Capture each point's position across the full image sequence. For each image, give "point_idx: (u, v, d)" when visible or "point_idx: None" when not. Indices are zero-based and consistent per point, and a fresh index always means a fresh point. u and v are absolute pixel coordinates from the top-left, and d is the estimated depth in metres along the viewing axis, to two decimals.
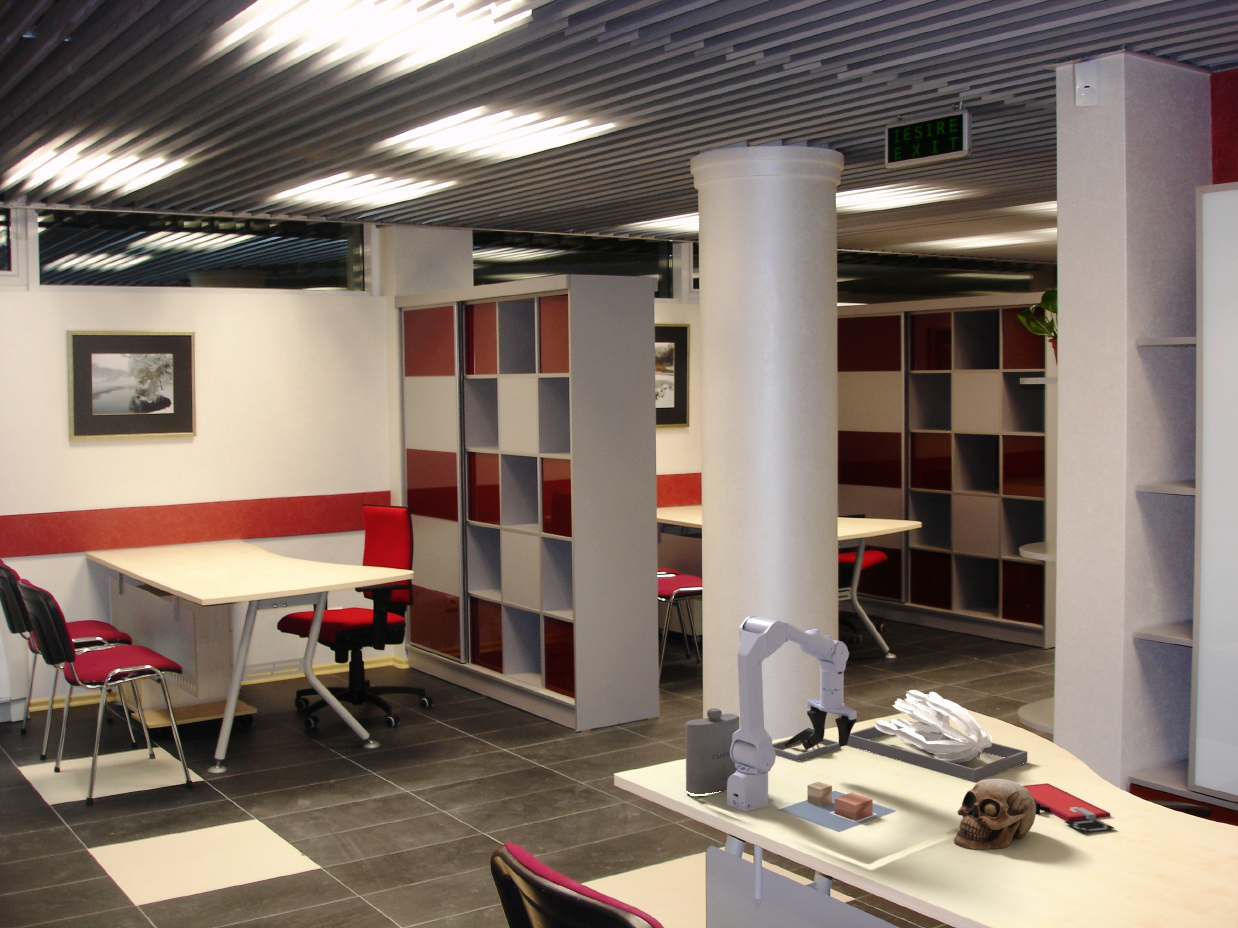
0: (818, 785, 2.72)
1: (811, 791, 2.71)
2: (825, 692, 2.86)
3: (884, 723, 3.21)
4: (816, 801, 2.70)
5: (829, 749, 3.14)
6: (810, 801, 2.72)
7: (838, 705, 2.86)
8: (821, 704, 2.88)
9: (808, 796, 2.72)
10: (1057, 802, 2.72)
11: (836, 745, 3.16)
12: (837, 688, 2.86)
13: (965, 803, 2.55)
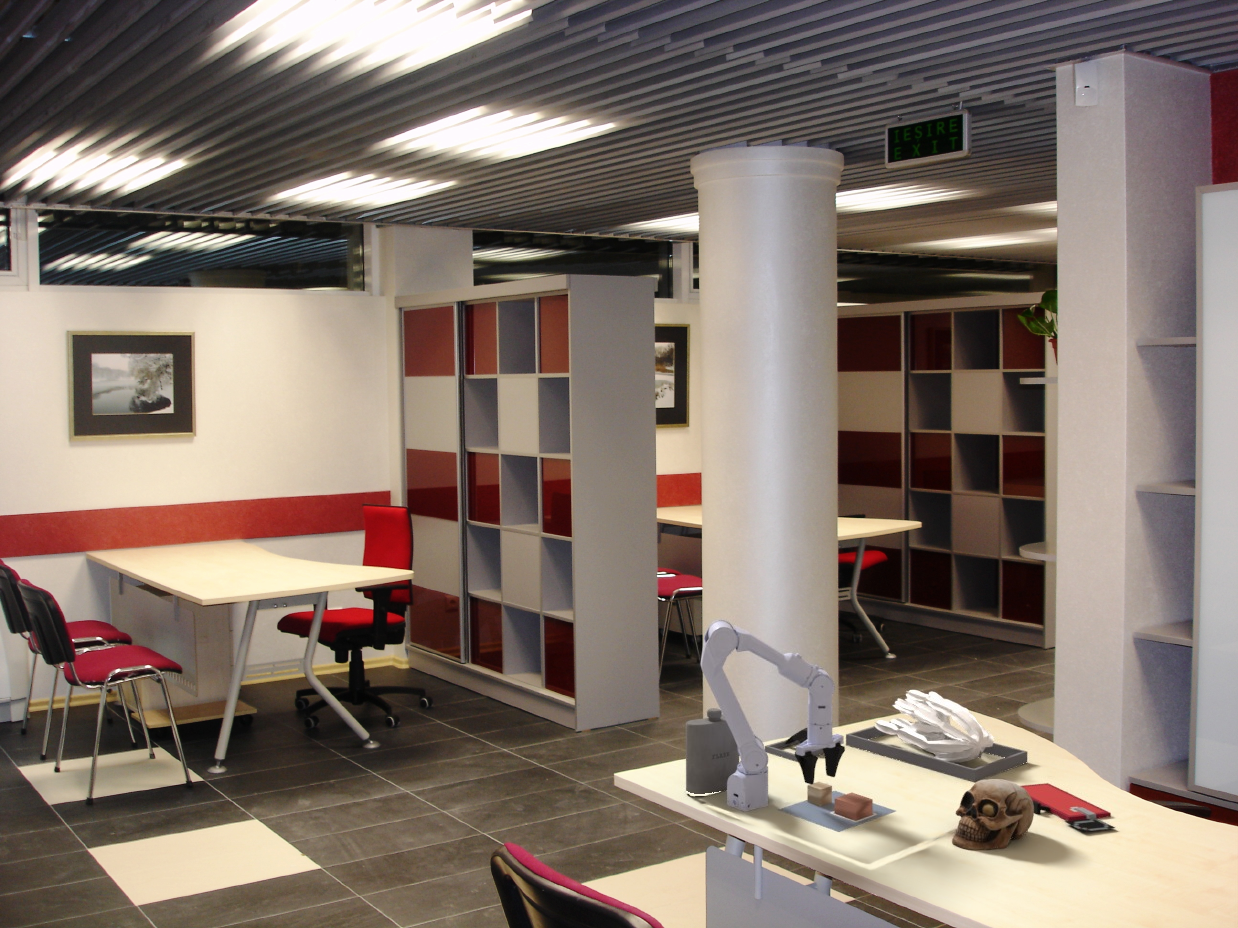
0: (818, 785, 2.72)
1: (811, 791, 2.71)
2: None
3: (884, 723, 3.21)
4: (816, 801, 2.70)
5: None
6: (810, 801, 2.72)
7: (809, 739, 2.70)
8: None
9: (808, 796, 2.72)
10: (1057, 802, 2.72)
11: None
12: (817, 723, 2.69)
13: (963, 803, 2.54)
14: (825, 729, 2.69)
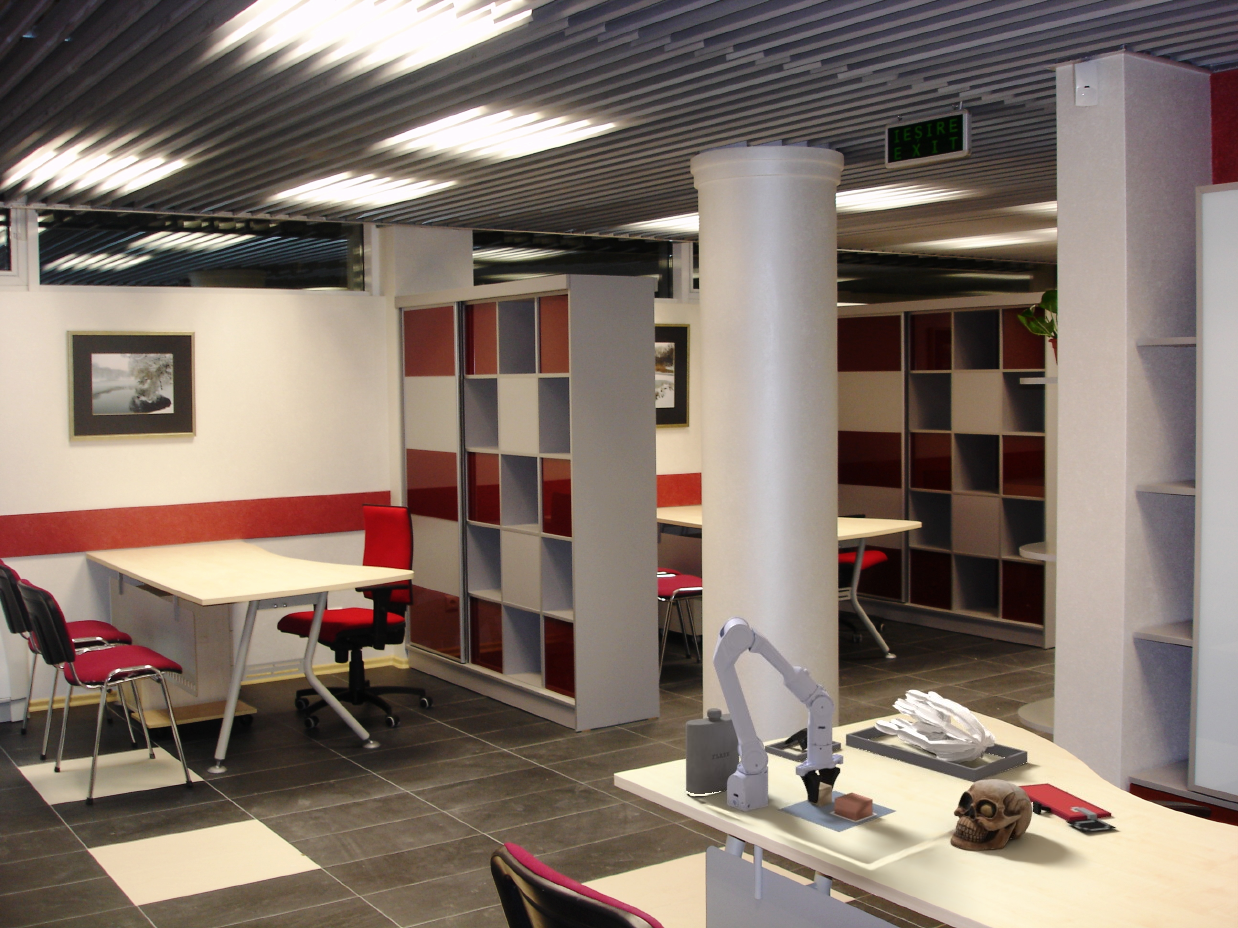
0: None
1: None
2: None
3: (884, 723, 3.20)
4: None
5: None
6: None
7: (809, 759, 2.71)
8: None
9: None
10: (1058, 802, 2.72)
11: (836, 745, 3.16)
12: (817, 743, 2.69)
13: (961, 804, 2.54)
14: (824, 750, 2.69)
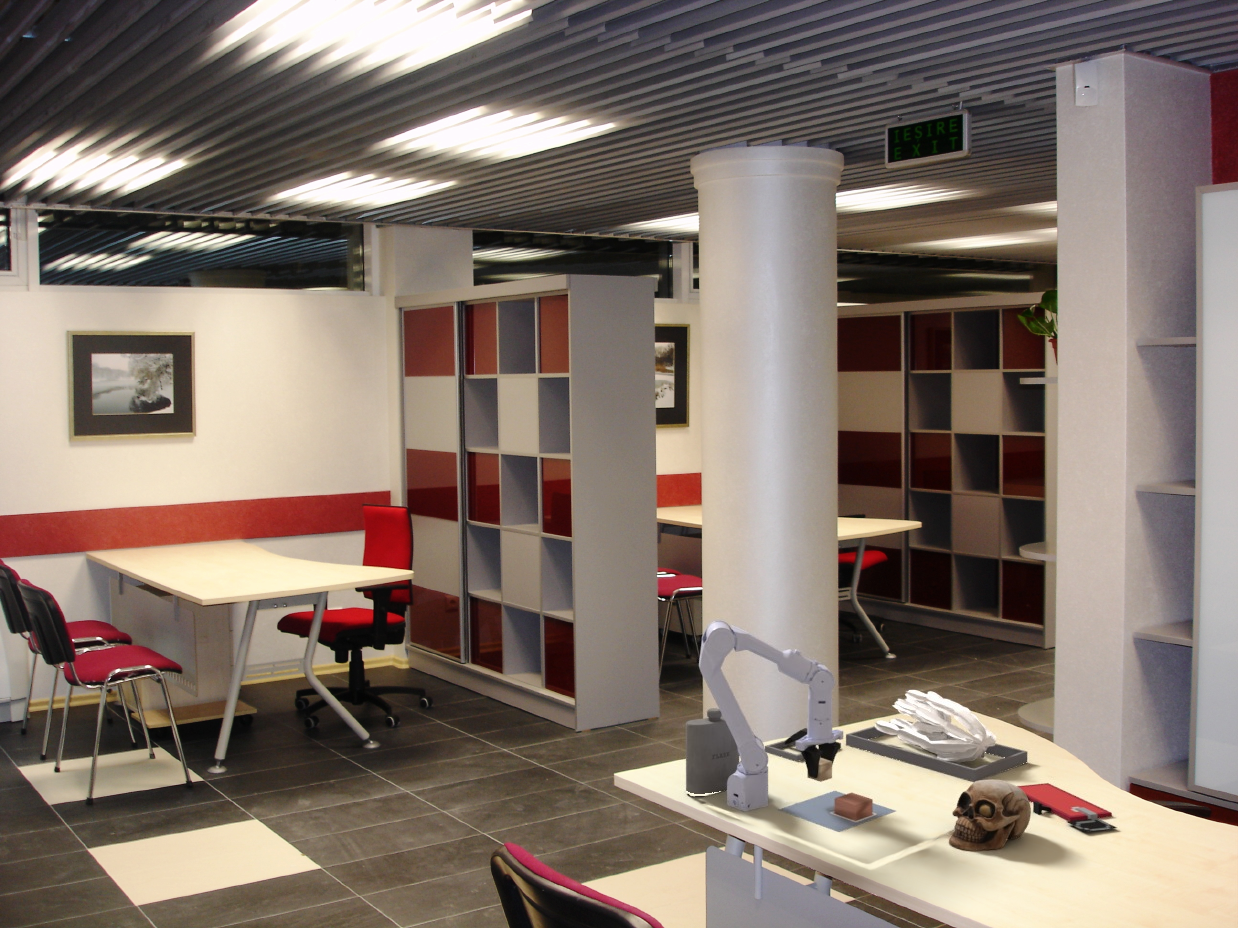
0: None
1: None
2: None
3: (885, 723, 3.20)
4: None
5: None
6: None
7: (809, 734, 2.70)
8: None
9: None
10: (1058, 802, 2.72)
11: None
12: (817, 718, 2.69)
13: (960, 804, 2.54)
14: (825, 725, 2.69)
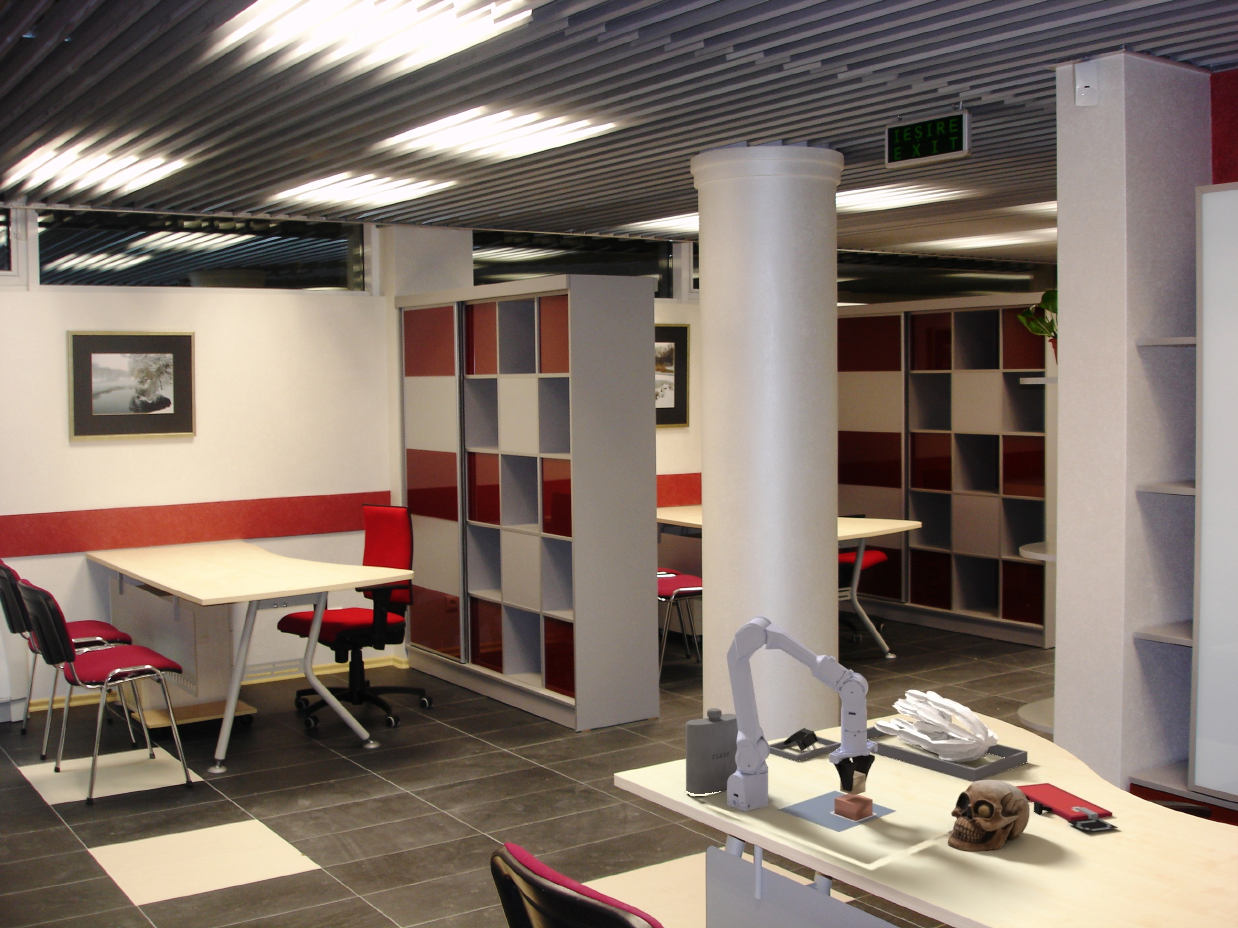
0: None
1: None
2: None
3: (885, 723, 3.20)
4: None
5: (829, 749, 3.14)
6: (843, 790, 2.64)
7: (843, 746, 2.63)
8: None
9: (841, 785, 2.65)
10: (1059, 802, 2.72)
11: (836, 745, 3.16)
12: (847, 729, 2.61)
13: (959, 804, 2.54)
14: (859, 737, 2.61)
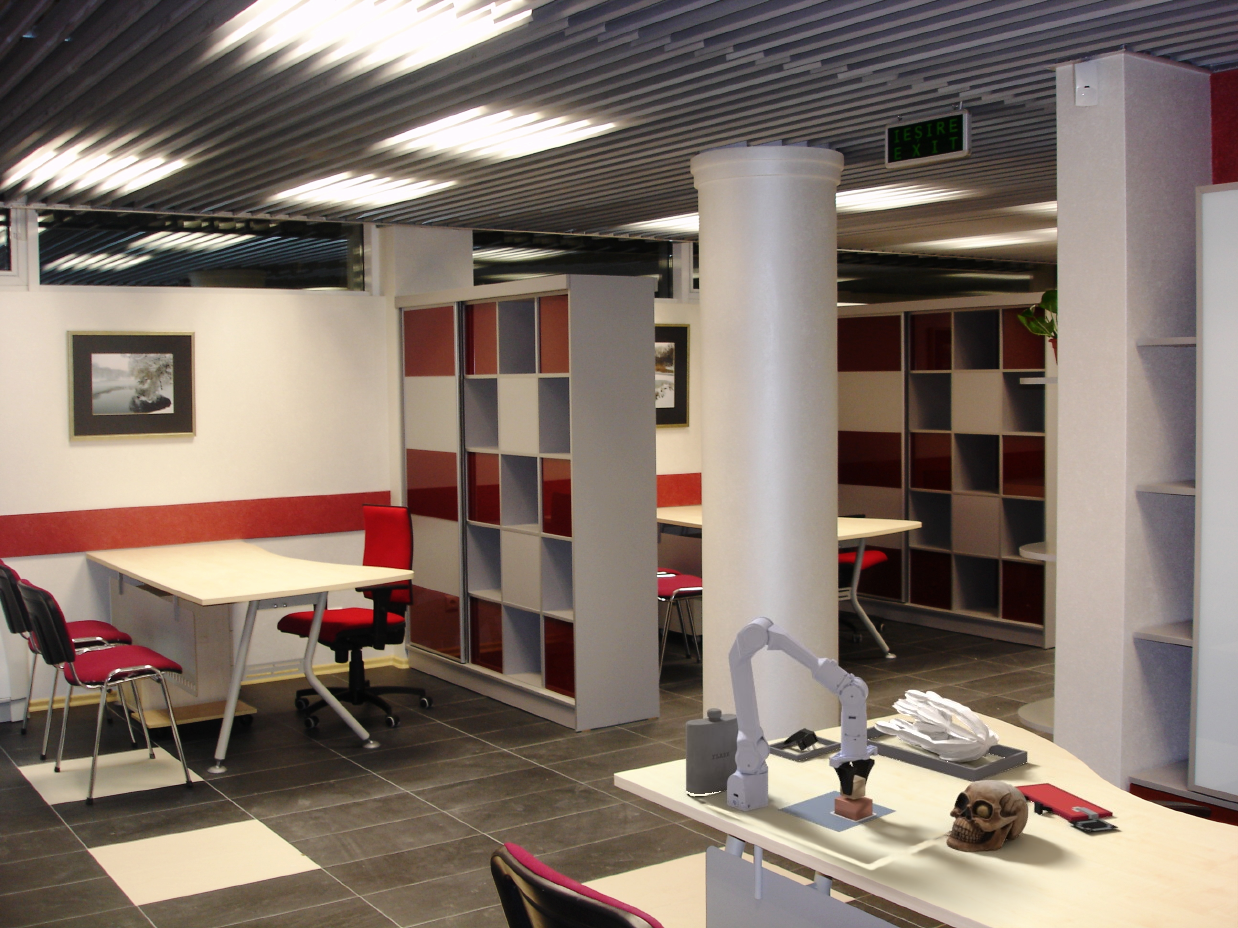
0: None
1: None
2: None
3: (885, 724, 3.20)
4: None
5: (829, 749, 3.14)
6: (843, 794, 2.64)
7: (843, 750, 2.63)
8: None
9: (841, 789, 2.65)
10: (1059, 802, 2.72)
11: (836, 745, 3.16)
12: (847, 733, 2.61)
13: (957, 804, 2.54)
14: (859, 741, 2.61)
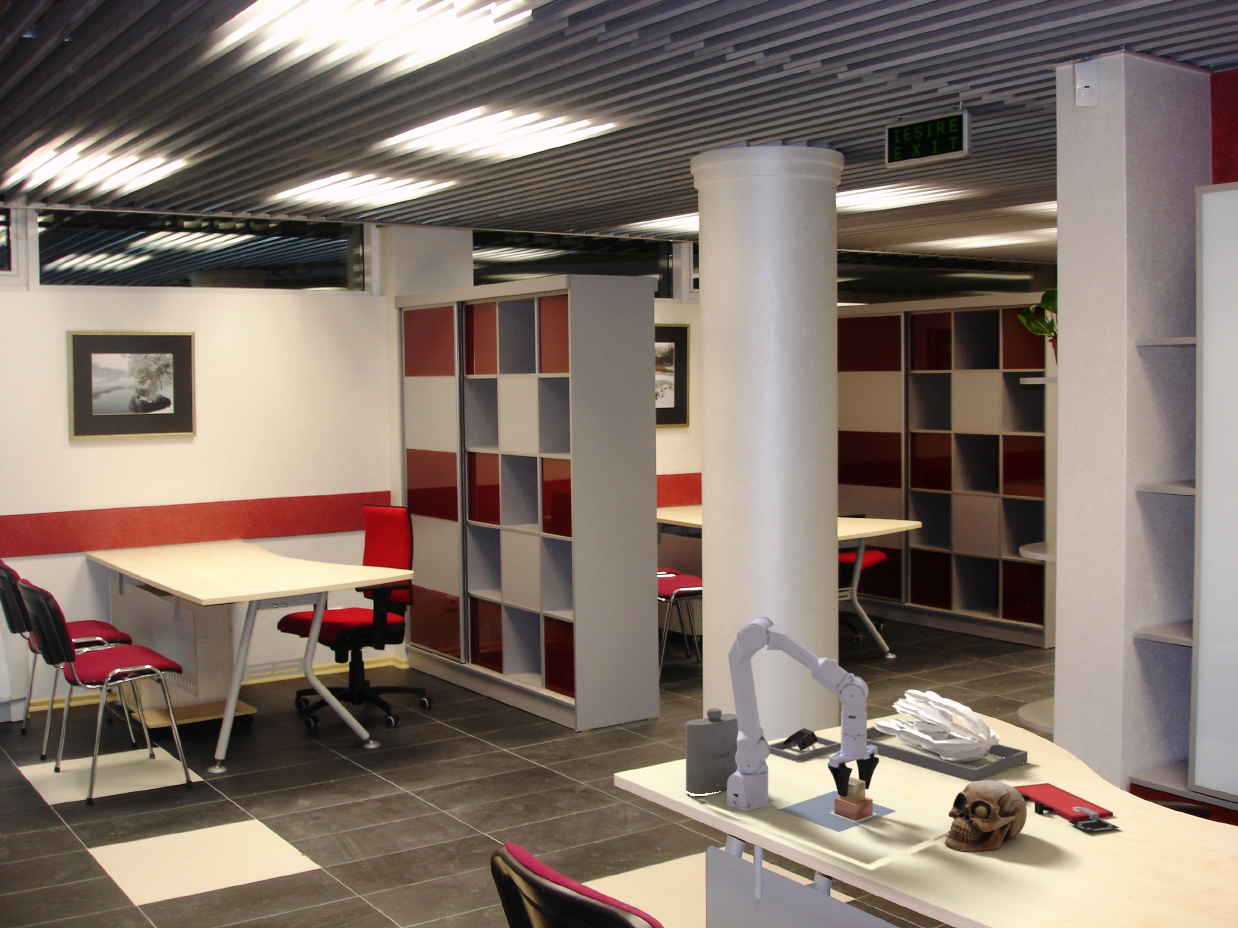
0: (851, 781, 2.64)
1: None
2: None
3: (885, 724, 3.20)
4: (849, 798, 2.63)
5: (829, 749, 3.14)
6: (843, 797, 2.64)
7: (843, 750, 2.63)
8: None
9: None
10: (1059, 802, 2.72)
11: (836, 745, 3.16)
12: (847, 733, 2.61)
13: (956, 805, 2.53)
14: (859, 740, 2.61)
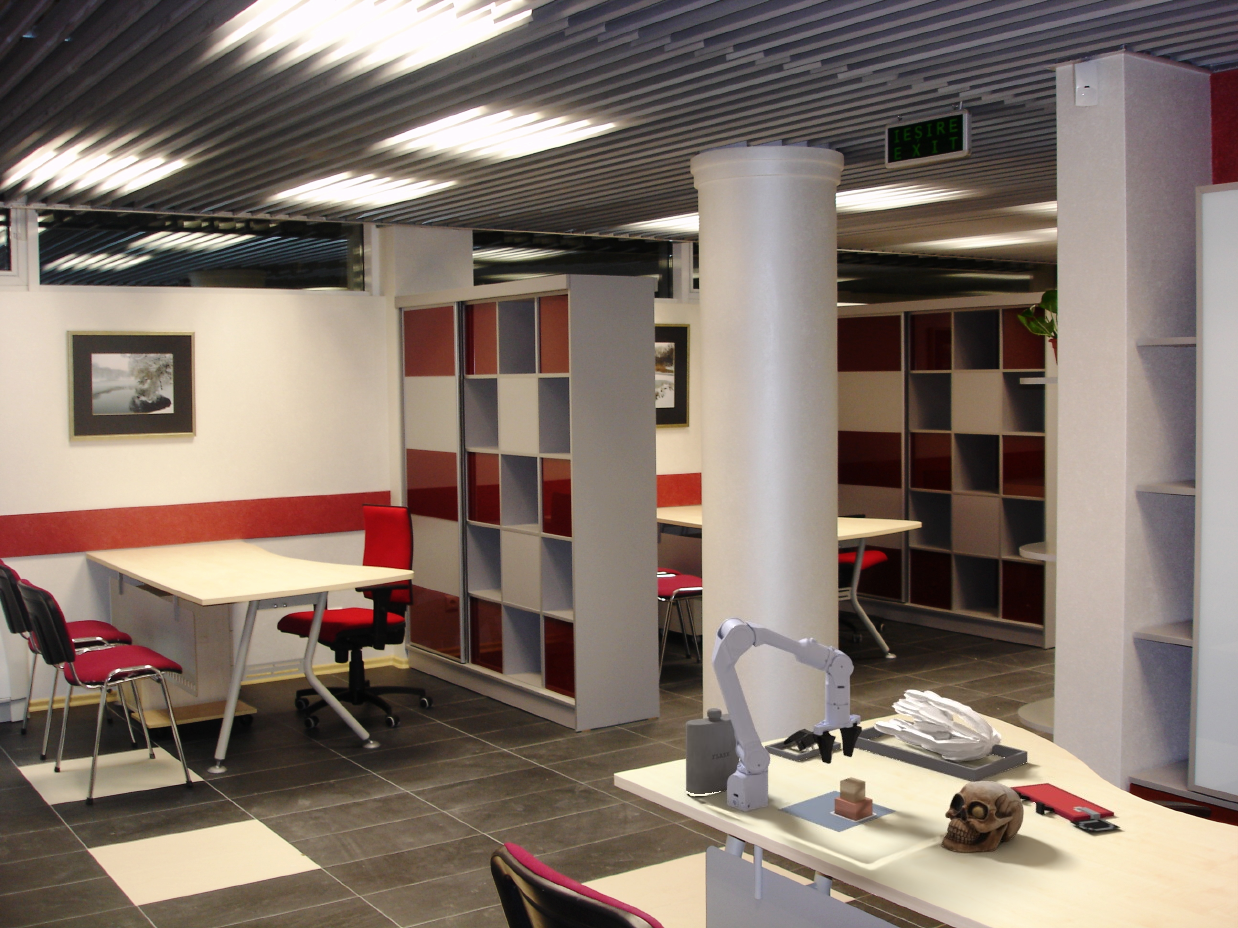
0: (851, 781, 2.64)
1: (844, 787, 2.64)
2: None
3: (885, 724, 3.20)
4: (849, 798, 2.63)
5: None
6: (843, 797, 2.64)
7: (827, 719, 2.72)
8: None
9: (841, 792, 2.65)
10: (1060, 802, 2.72)
11: (836, 745, 3.16)
12: (836, 703, 2.71)
13: (953, 805, 2.53)
14: (842, 709, 2.71)
